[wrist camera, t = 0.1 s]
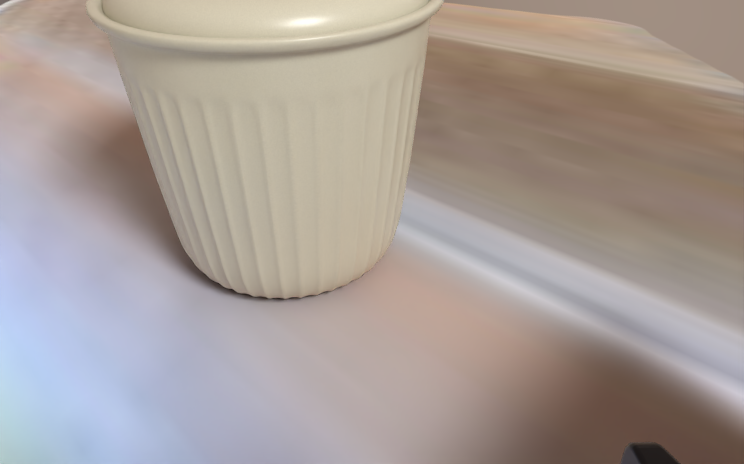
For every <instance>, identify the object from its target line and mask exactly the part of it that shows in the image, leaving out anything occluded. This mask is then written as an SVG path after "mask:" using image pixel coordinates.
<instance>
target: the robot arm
mask: <svg viewBox="0 0 744 464" xmlns="http://www.w3.org/2000/svg"><path fill="white" fill-rule="evenodd" d="M620 464H680V463H679V462H678V461H677V460H676V459H675V458H674V457H673V456H672V455H671V454H670V453H669V452H668V451H667V450H665V449H664V448H663V447H662V446H661V445H659V444H657V443H653V442H637V443H629V444H628V445H627V446H626V448H625V450H624V454H623V457H622V460H621V463H620Z"/></svg>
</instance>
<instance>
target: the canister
mask: <svg viewBox="0 0 744 464" xmlns="http://www.w3.org/2000/svg"><path fill="white" fill-rule="evenodd" d="M443 2H444V0H87V2H86V6H85V7H86V12H87V15H88V17H89V18H90V19H91V21H92V22H93V23H94V24H95V25H96V26H97V27H98V28H100V29H101V30H103V31H104V32H106V33H107V35H108V38H109V41H110V44H111V47H112V50H113V53H114V56H115V59H116V62H117V65H118V68H119V71H120V75H121V77H122V80H123V83H124V86H125V89H126V92H127V95H128V98H129V100H130V103H131V106H132V109H133V112H134V115H135V118H136V121H137V124H138V127H139V130H140V133H141V136H142V139H143V142H144V145H145V148H146V150H147V153H148V156H149V159H150V162H151V165H152V168H153V171H154V173H155V176H156V179H157V182H158V184H159V187H160V190H161V192H162V195H163V198H164V200H165V203H166V206H167V208H168V211H169V214H170V216H171V219H172V222H173V224H174V227H175V230H176V232H177V235H178V237H179V240H180V242H181V244H182V246H183V248H184V250H185V252H186V253H187V254H188V256H189V257H190V258H191V260H192V261H193V262H194V264H195V265H196V266H197V268H198V269H199V270H200V271H202V272H203V273H205V274H206V275H207V276H208V277H209V278H210V279H211V280H213V281H215V282H217V283H219V284H221V285H222V286H223V287H225V288H228V289H234V290H235V291H236V292H238V293H246V294H250V295H251V296H253V297H258V296H263V297H267V298H268V299H271V298H284V299H288V298H291V297H299V298H303V297H304V296H308V295H319V294H320V293H322V292H325V291H333V290H334V289H336V288H338V287H340V286H346V285H347V284H349V283H350V282H351V281H352V280H356V279H359V278H360V277H361V276H362V275H363V274H364V273H366V272H368V271H369V270H371V269H372V268H373V267H374V265H375V264H376V263H377V262H378V261H379V260H380V259H381V258H382V257H383V255H384V254H385V252H386V250H387V249H388V247H389V246H390V244H391V242H392V240H393V238H394V235H395V232H396V229H397V226H398V222H399V219H400V214H401V209H402V204H403V198H404V193H405V187H406V182H407V176H408V170H409V164H410V158H411V152H412V145H413V139H414V133H415V126H416V118H417V111H418V104H419V98H420V91H421V85H422V78H423V71H424V65H425V58H426V50H427V42H428V34H429V26H430V19H431V17H432V16H433V15H434V14H435V13H436V12H437V11H438V10H439V9H440V8H441V6H442V4H443Z"/></svg>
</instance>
